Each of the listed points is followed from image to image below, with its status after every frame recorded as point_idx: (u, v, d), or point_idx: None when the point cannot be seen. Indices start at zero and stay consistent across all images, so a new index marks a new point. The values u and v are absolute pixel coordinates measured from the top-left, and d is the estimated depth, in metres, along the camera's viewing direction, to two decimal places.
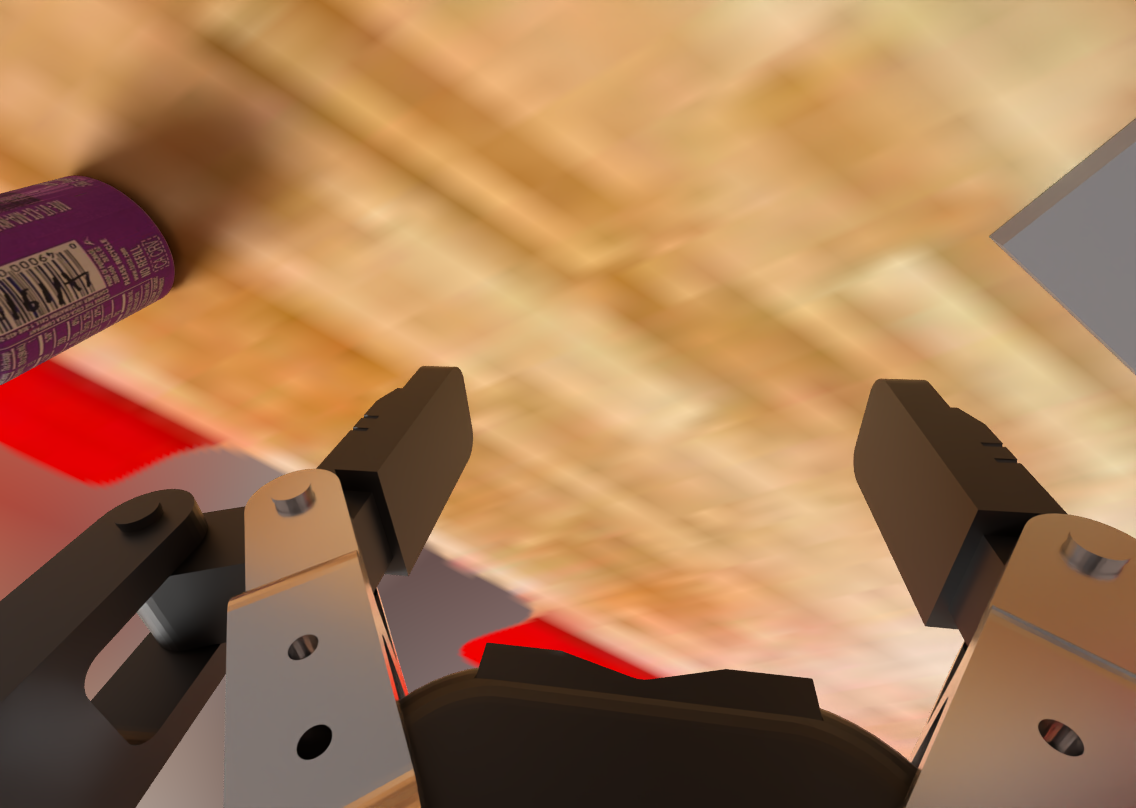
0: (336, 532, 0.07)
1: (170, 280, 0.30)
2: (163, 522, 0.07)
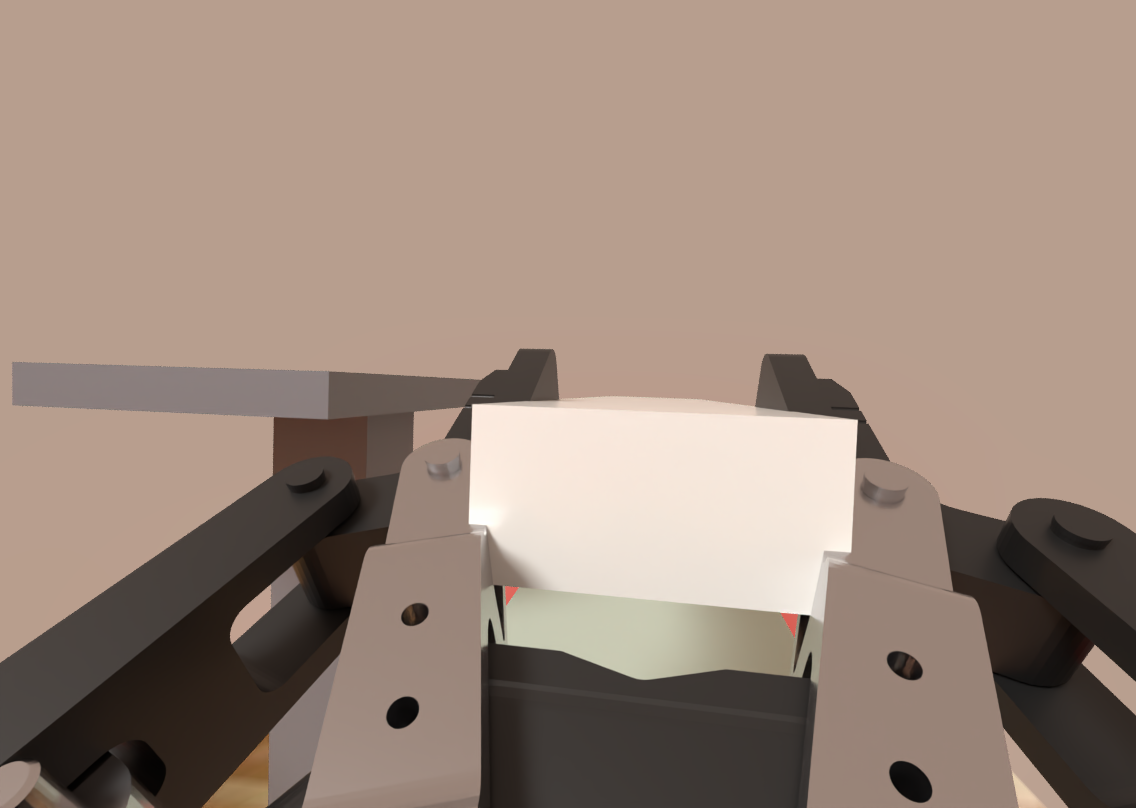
0: None
1: None
2: (328, 486, 0.07)
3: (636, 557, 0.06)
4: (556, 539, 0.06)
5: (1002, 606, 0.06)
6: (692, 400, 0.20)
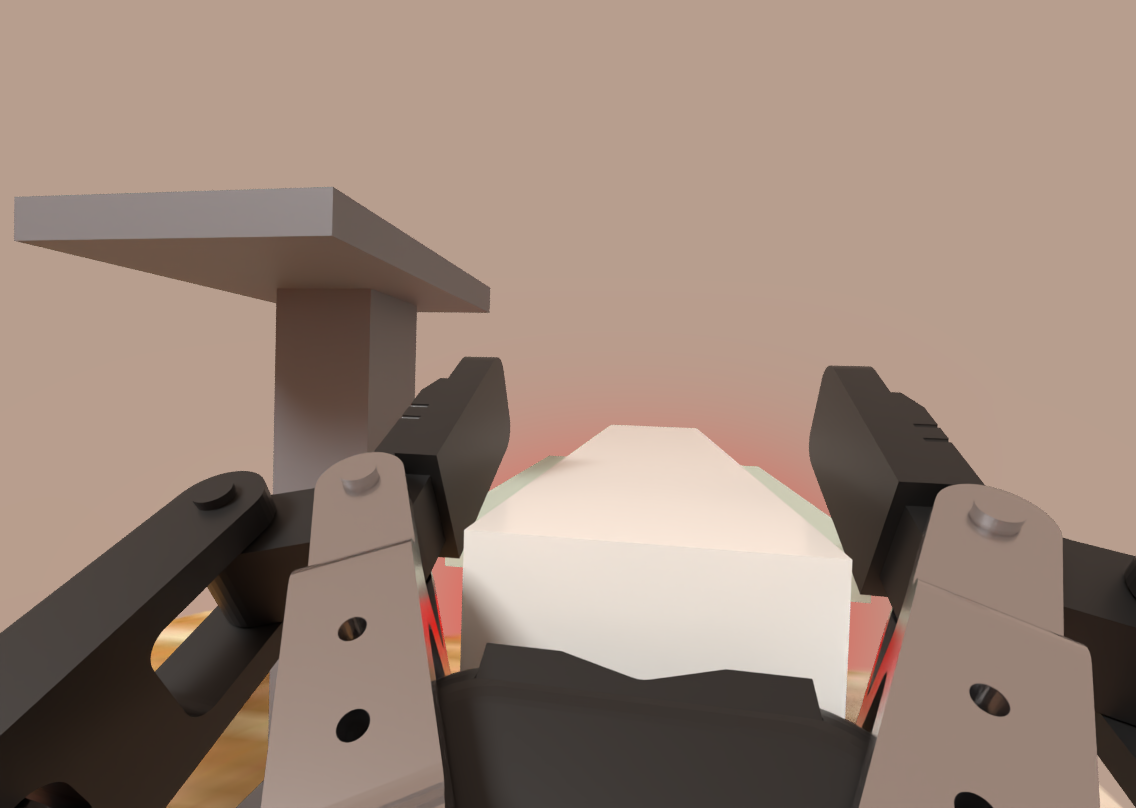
0: (407, 510, 0.07)
1: None
2: (238, 502, 0.07)
3: None
4: None
5: None
6: (690, 440, 0.20)
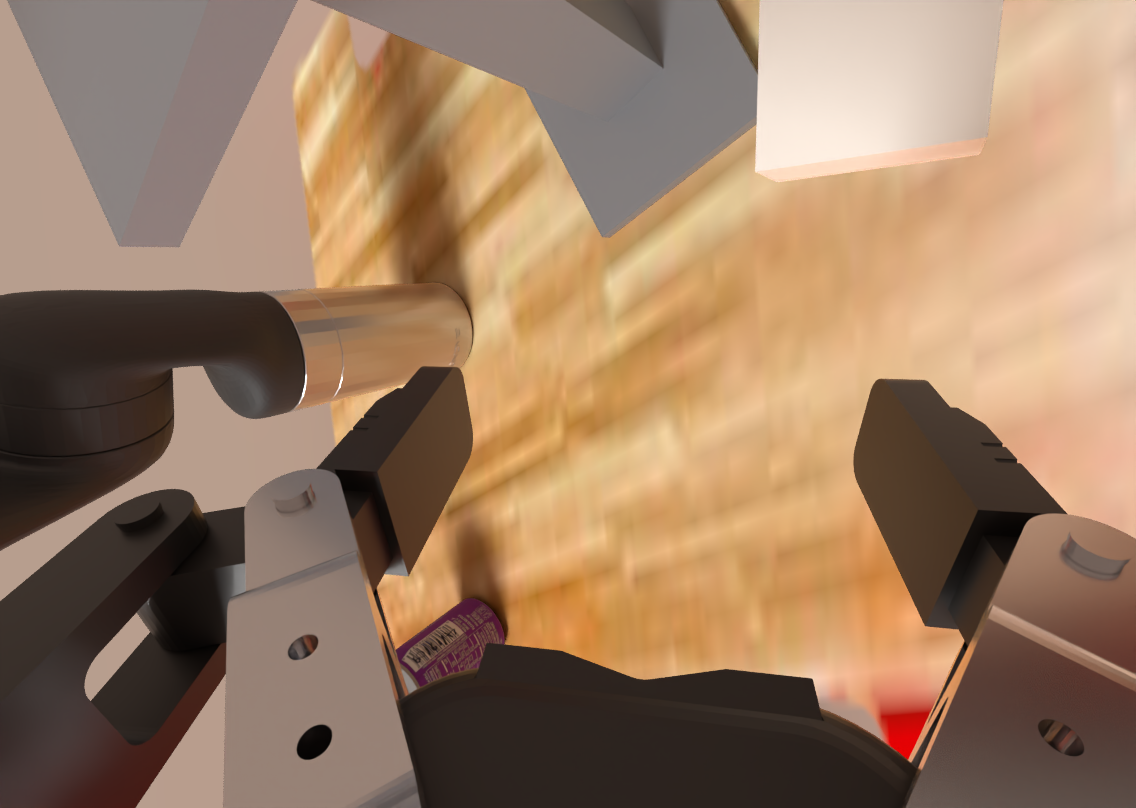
0: (336, 532, 0.07)
1: (497, 622, 0.58)
2: (163, 522, 0.07)
3: (860, 167, 0.13)
4: (816, 173, 0.13)
5: None
6: None
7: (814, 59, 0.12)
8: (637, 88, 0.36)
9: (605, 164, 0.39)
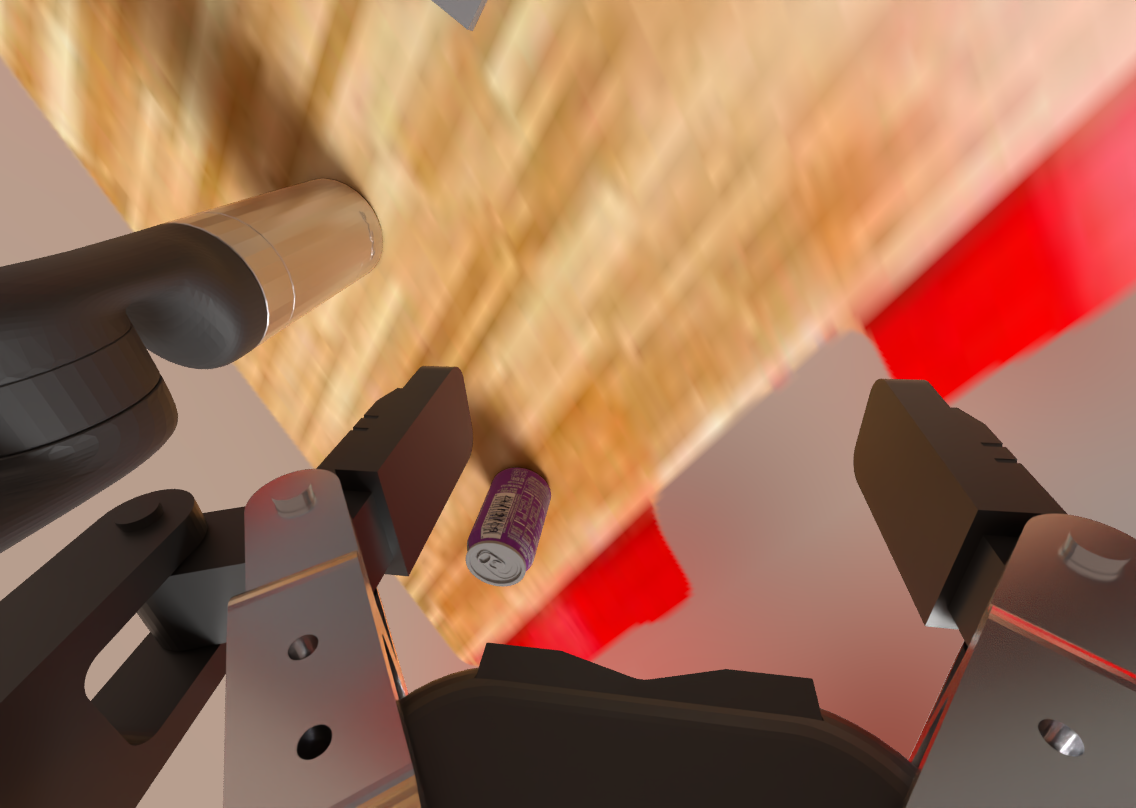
0: (336, 532, 0.07)
1: (535, 475, 0.61)
2: (163, 522, 0.07)
3: None
4: None
5: None
6: None
7: None
8: None
9: None
